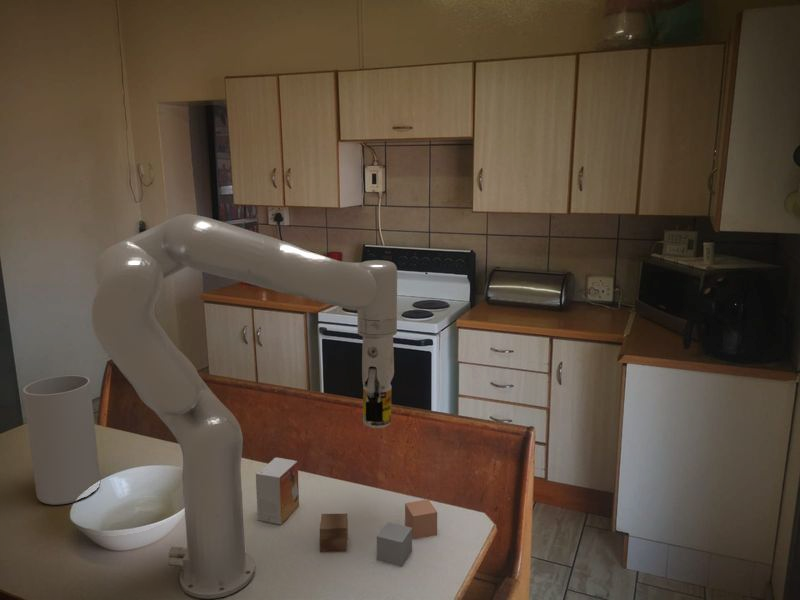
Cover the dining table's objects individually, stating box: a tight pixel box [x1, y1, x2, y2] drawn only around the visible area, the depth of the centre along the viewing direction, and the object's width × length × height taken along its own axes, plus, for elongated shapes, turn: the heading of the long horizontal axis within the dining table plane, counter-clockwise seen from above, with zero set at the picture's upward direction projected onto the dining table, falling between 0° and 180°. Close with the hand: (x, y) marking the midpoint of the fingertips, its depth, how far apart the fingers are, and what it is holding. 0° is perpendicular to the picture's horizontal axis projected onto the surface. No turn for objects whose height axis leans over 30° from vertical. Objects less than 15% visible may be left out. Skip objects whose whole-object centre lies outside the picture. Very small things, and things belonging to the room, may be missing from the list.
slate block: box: [376, 521, 413, 568], centre depth 112 cm, size 5×5×5 cm
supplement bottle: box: [362, 383, 393, 429], centre depth 119 cm, size 6×6×10 cm
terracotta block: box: [404, 499, 438, 540], centre depth 120 cm, size 5×5×5 cm
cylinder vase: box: [22, 374, 101, 506], centre depth 132 cm, size 12×12×25 cm
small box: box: [255, 456, 300, 526], centre depth 126 cm, size 8×6×10 cm
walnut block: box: [319, 513, 349, 553], centre depth 116 cm, size 5×5×5 cm
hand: (377, 413), depth 119 cm, fingers closed on supplement bottle, 5 cm apart
